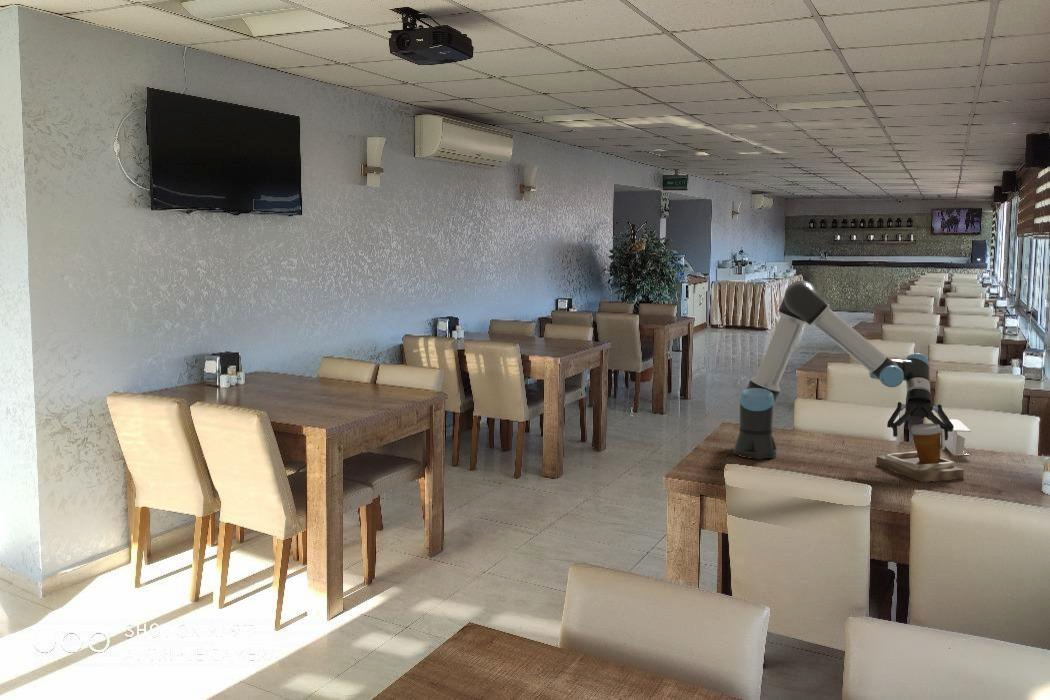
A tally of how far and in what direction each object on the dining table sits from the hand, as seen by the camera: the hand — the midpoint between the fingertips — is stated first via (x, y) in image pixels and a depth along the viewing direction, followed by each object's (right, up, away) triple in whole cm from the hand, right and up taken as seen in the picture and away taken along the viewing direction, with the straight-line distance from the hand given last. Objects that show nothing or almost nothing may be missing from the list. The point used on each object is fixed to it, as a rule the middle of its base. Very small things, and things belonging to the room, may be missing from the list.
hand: (920, 446), depth 274 cm
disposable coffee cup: (+4, -5, +3) cm, 7 cm away
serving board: (+1, -9, +3) cm, 9 cm away
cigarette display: (+28, -5, +32) cm, 43 cm away
